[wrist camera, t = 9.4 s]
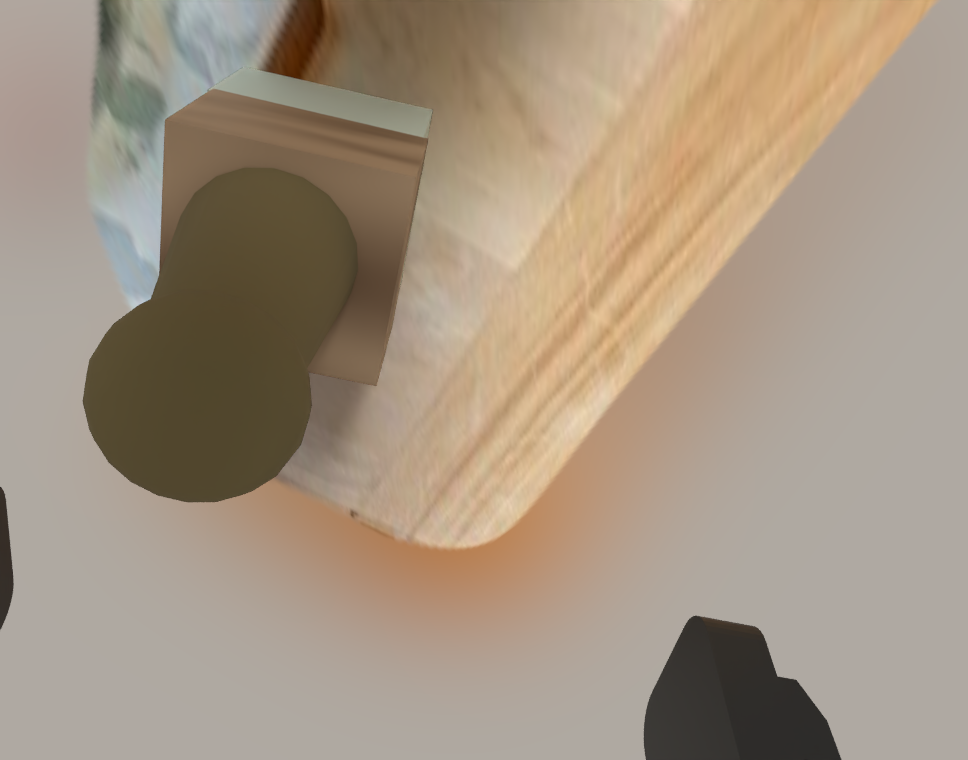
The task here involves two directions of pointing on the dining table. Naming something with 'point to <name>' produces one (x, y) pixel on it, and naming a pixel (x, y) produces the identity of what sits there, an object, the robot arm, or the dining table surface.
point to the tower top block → (332, 168)
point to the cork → (224, 340)
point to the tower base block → (329, 101)
